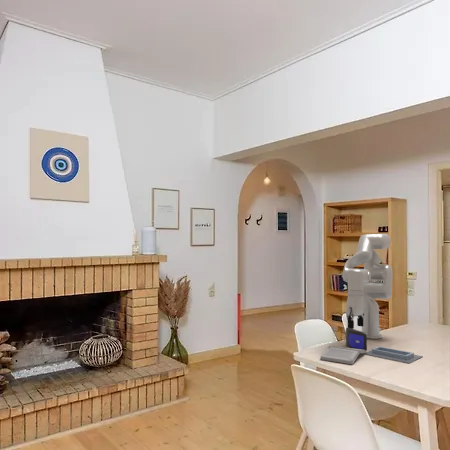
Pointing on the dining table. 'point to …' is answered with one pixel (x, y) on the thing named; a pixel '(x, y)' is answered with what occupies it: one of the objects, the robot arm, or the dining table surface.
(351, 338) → the leaning round-cornered charcoal block
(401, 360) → the switch cradle
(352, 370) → the dining table surface
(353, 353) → the gadget
